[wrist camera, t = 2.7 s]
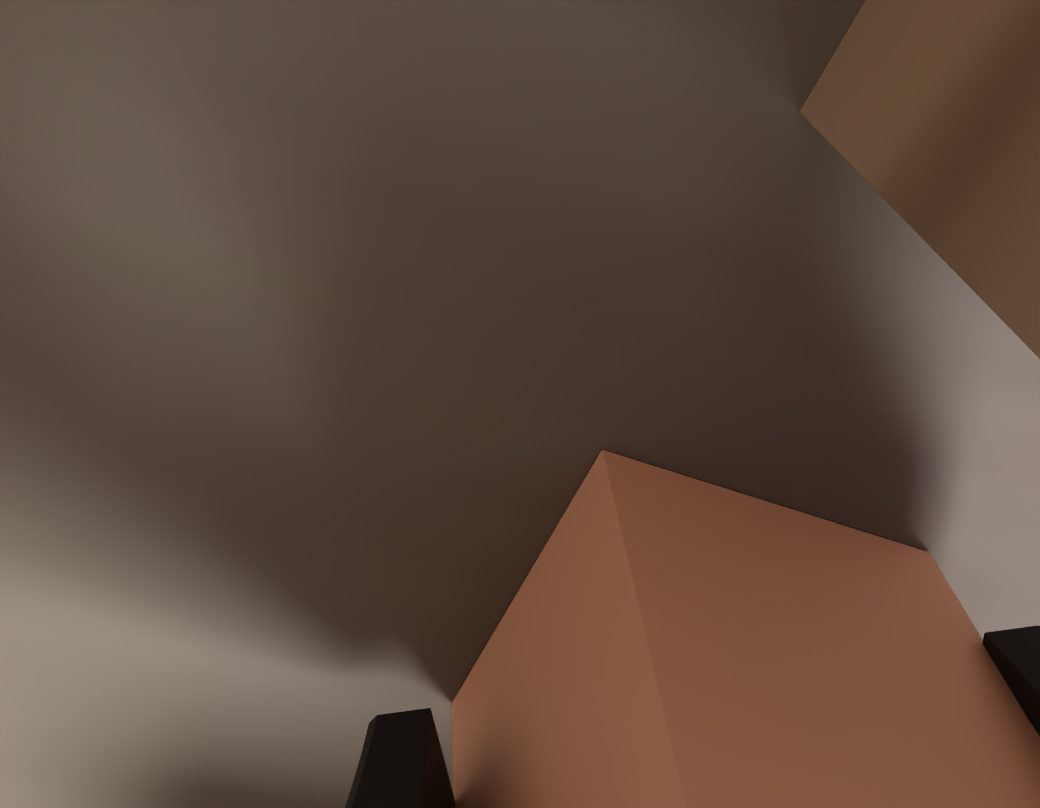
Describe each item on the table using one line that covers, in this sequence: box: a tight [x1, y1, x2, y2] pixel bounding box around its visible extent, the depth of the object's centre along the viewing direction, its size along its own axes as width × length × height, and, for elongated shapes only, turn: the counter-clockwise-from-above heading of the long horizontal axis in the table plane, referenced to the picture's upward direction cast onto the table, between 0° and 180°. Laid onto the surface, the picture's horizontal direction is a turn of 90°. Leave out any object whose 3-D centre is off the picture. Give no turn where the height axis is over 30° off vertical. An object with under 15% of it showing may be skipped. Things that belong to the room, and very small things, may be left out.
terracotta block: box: [451, 450, 1040, 808], centre depth 11 cm, size 4×4×4 cm
